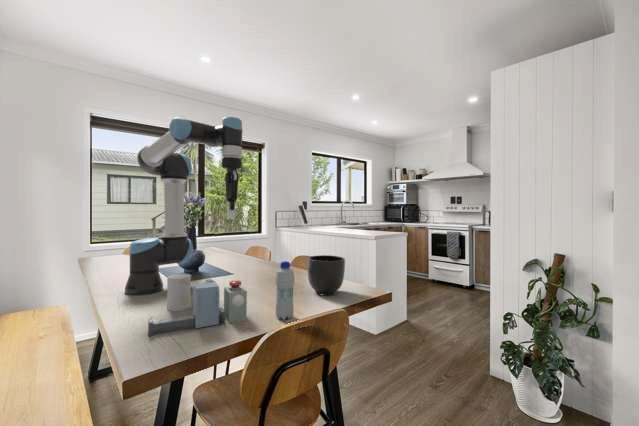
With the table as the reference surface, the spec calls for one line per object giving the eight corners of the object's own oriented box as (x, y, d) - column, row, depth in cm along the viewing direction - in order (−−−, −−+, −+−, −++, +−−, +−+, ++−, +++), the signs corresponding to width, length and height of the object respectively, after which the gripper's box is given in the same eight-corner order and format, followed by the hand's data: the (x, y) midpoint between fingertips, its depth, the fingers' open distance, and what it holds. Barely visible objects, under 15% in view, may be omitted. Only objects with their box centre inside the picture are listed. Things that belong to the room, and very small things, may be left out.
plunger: (228, 303, 109) (228, 281, 109) (239, 302, 111) (239, 280, 111) (230, 306, 106) (230, 283, 105) (242, 305, 107) (242, 282, 107)
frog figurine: (215, 295, 134) (216, 279, 134) (198, 297, 131) (198, 281, 131) (213, 292, 139) (214, 276, 139) (197, 293, 136) (197, 278, 136)
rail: (148, 330, 96) (148, 317, 96) (222, 318, 107) (222, 307, 107) (148, 336, 91) (148, 322, 91) (225, 323, 102) (225, 311, 102)
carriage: (192, 320, 104) (193, 283, 103) (214, 317, 107) (214, 281, 107) (196, 329, 96) (196, 289, 96) (219, 325, 100) (219, 286, 100)
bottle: (275, 314, 112) (276, 259, 111) (293, 314, 112) (294, 259, 112) (274, 321, 105) (275, 263, 105) (293, 320, 106) (294, 263, 105)
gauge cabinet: (223, 314, 110) (224, 287, 110) (240, 312, 113) (240, 285, 113) (229, 322, 103) (229, 293, 103) (246, 319, 106) (247, 291, 106)
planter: (352, 294, 139) (352, 259, 139) (320, 300, 129) (321, 262, 129) (329, 286, 153) (330, 254, 153) (300, 291, 143) (300, 256, 143)
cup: (181, 311, 113) (181, 279, 113) (162, 309, 115) (162, 277, 114) (194, 304, 121) (195, 274, 121) (176, 303, 123) (176, 273, 122)
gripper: (218, 159, 124) (218, 217, 125) (225, 154, 113) (224, 219, 113) (237, 160, 128) (236, 217, 128) (245, 156, 116) (245, 218, 117)
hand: (231, 218), depth 121 cm, fingers closed
